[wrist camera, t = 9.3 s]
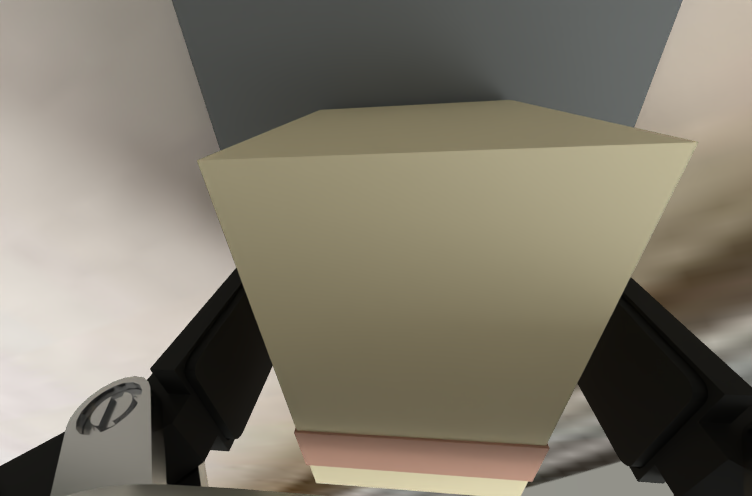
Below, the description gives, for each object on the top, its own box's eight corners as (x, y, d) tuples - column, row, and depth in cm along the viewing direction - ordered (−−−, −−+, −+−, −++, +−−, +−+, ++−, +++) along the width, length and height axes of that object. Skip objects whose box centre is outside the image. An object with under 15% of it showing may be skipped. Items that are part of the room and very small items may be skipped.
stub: (318, 109, 9) (190, 162, 3) (512, 99, 8) (708, 142, 3) (349, 324, 13) (314, 484, 8) (473, 326, 13) (521, 501, 7)
